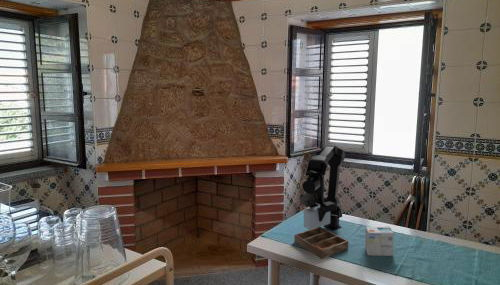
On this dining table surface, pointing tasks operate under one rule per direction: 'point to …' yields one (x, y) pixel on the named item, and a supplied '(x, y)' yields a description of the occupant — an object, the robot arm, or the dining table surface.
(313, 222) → the white rectangular box
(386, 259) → the dining table surface
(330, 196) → the robot arm
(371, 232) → the light bulb box
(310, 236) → the rack
